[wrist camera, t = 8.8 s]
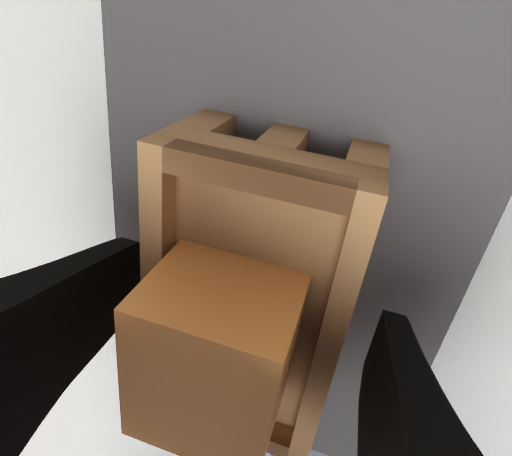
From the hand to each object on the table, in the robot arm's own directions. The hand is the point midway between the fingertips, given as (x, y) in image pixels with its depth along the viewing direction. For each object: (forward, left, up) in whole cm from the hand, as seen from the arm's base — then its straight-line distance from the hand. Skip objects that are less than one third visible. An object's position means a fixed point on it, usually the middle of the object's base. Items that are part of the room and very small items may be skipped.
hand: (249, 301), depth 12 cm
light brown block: (0, 0, +1) cm, 1 cm away
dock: (0, 0, -5) cm, 5 cm away
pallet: (0, 0, -2) cm, 2 cm away
